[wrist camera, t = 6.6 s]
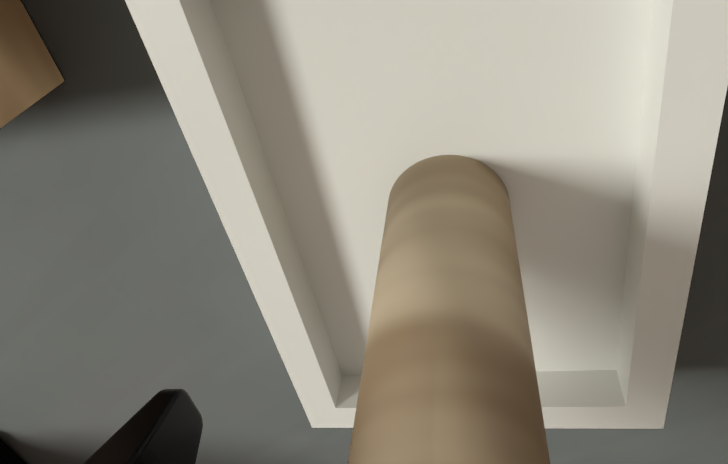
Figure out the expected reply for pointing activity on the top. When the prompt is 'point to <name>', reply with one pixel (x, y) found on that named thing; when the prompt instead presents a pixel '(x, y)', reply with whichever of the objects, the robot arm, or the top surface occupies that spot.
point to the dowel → (448, 328)
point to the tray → (464, 138)
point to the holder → (22, 62)
